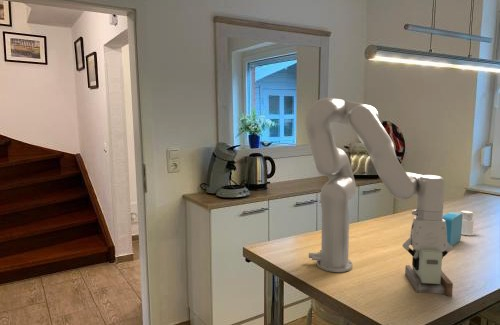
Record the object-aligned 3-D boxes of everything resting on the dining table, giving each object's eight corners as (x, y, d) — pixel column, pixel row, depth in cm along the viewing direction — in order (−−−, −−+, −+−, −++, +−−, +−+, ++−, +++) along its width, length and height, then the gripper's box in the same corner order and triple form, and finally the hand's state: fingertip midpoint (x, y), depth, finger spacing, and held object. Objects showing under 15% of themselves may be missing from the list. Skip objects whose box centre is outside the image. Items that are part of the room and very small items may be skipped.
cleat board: (417, 294, 115) (418, 281, 115) (401, 267, 135) (401, 256, 134) (452, 296, 114) (452, 283, 114) (430, 268, 134) (430, 257, 133)
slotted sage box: (421, 283, 117) (423, 252, 116) (412, 269, 128) (414, 240, 126) (440, 284, 117) (442, 253, 115) (429, 270, 127) (431, 241, 125)
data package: (449, 237, 165) (451, 210, 164) (461, 240, 162) (462, 212, 161) (439, 244, 157) (440, 216, 156) (450, 247, 154) (452, 218, 152)
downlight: (472, 237, 166) (474, 214, 165) (454, 234, 170) (456, 212, 169) (475, 233, 172) (477, 211, 171) (457, 230, 176) (459, 209, 175)
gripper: (403, 217, 117) (401, 272, 120) (463, 218, 115) (459, 275, 117) (397, 210, 124) (395, 263, 127) (453, 212, 122) (450, 265, 125)
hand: (426, 268), depth 122 cm, fingers closed on slotted sage box, 5 cm apart
